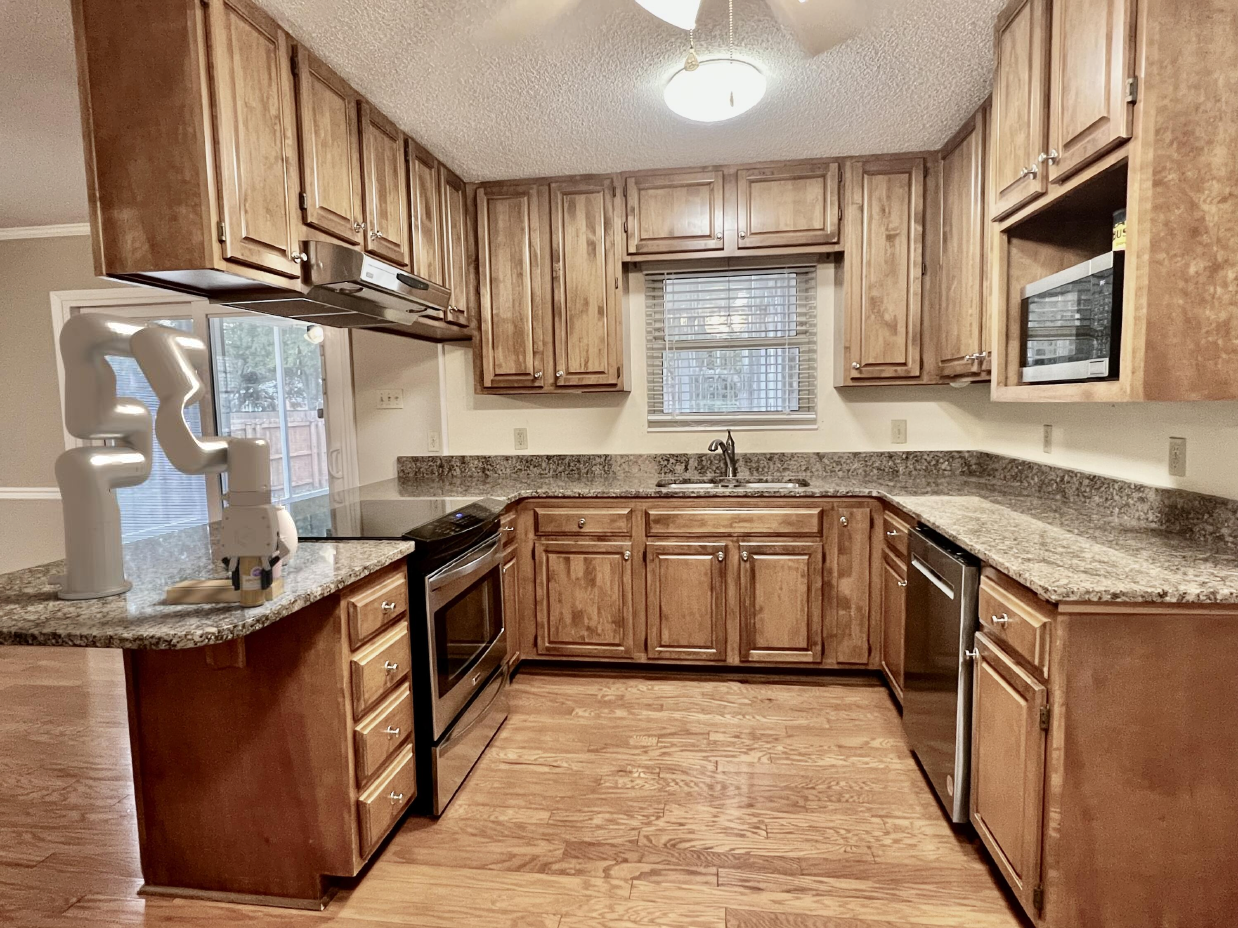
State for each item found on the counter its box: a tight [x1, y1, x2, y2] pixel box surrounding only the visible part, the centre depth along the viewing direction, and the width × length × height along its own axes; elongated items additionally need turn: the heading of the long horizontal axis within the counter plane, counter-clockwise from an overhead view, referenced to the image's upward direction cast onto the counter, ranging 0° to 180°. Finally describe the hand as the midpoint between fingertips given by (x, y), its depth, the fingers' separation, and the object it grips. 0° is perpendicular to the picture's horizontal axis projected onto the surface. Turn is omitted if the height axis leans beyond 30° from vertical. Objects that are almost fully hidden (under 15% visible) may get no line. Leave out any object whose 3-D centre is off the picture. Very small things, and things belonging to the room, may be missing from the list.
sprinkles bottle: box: [239, 557, 266, 608], centre depth 131 cm, size 5×5×13 cm
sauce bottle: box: [275, 496, 299, 566], centre depth 167 cm, size 8×8×18 cm
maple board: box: [166, 577, 285, 605], centre depth 137 cm, size 20×7×3 cm, turn 100°
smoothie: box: [272, 535, 286, 578], centre depth 155 cm, size 6×6×14 cm
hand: (252, 587), depth 131 cm, fingers closed on sprinkles bottle, 4 cm apart
